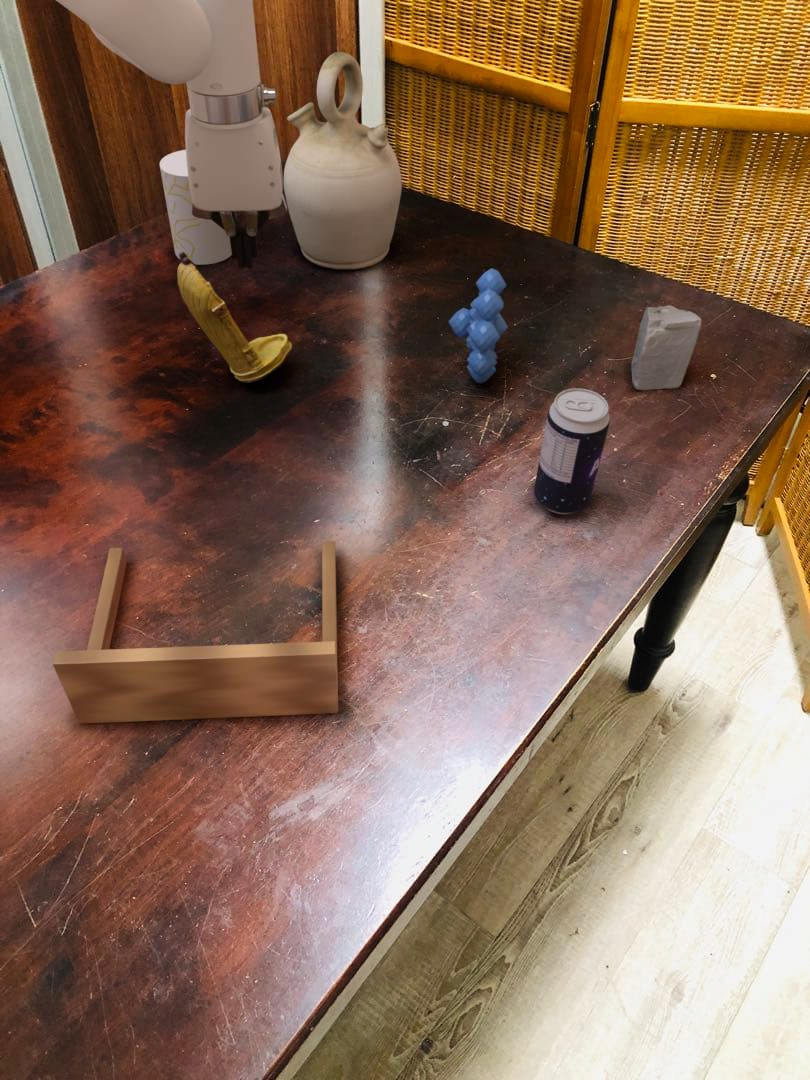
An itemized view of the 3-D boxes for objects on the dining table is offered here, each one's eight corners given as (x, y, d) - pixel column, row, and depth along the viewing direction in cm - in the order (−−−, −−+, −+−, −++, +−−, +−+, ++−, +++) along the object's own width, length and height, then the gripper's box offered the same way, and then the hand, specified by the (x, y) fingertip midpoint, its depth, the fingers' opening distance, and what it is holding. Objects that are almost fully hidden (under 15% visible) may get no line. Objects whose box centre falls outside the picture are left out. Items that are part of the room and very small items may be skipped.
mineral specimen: (707, 378, 102) (714, 323, 96) (638, 402, 102) (641, 349, 96) (676, 341, 107) (681, 287, 101) (610, 364, 107) (611, 311, 100)
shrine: (190, 395, 99) (167, 274, 88) (197, 353, 104) (177, 234, 93) (293, 393, 99) (283, 273, 89) (295, 352, 105) (285, 234, 94)
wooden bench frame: (79, 724, 69) (52, 664, 64) (114, 562, 81) (94, 499, 75) (338, 713, 71) (335, 653, 65) (335, 555, 82) (333, 493, 77)
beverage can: (588, 523, 86) (612, 427, 78) (530, 515, 87) (548, 419, 78) (590, 484, 90) (613, 389, 82) (534, 477, 91) (552, 382, 82)
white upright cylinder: (162, 252, 120) (146, 164, 112) (204, 229, 125) (191, 144, 116) (206, 270, 117) (192, 182, 109) (246, 246, 122) (237, 160, 113)
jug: (266, 246, 122) (248, 49, 104) (351, 212, 130) (348, 24, 112) (336, 290, 115) (330, 87, 97) (422, 252, 122) (431, 57, 104)
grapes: (450, 337, 108) (457, 246, 99) (505, 343, 108) (517, 252, 99) (439, 394, 100) (446, 300, 91) (499, 400, 100) (511, 307, 91)
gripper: (298, 87, 95) (309, 245, 108) (157, 88, 94) (186, 247, 107) (297, 115, 89) (309, 277, 103) (148, 116, 89) (179, 280, 102)
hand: (246, 262), depth 105 cm, fingers closed
